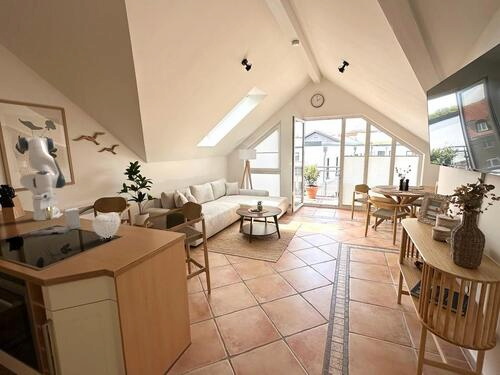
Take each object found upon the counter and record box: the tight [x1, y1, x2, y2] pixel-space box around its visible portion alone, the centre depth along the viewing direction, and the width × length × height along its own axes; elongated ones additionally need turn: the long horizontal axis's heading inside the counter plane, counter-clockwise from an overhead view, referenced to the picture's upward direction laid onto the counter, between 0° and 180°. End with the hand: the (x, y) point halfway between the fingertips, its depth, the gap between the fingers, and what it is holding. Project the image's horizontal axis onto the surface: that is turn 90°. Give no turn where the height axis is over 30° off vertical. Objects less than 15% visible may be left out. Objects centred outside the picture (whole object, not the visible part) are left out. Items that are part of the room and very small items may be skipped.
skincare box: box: [64, 207, 81, 231], centre depth 183 cm, size 8×6×15 cm
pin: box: [45, 207, 52, 221], centre depth 171 cm, size 3×3×9 cm
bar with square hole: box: [28, 226, 70, 236], centre depth 173 cm, size 7×22×3 cm, turn 99°
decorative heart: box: [91, 211, 121, 240], centre depth 161 cm, size 18×11×17 cm, turn 157°
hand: (47, 213), depth 171 cm, fingers closed on pin, 3 cm apart
